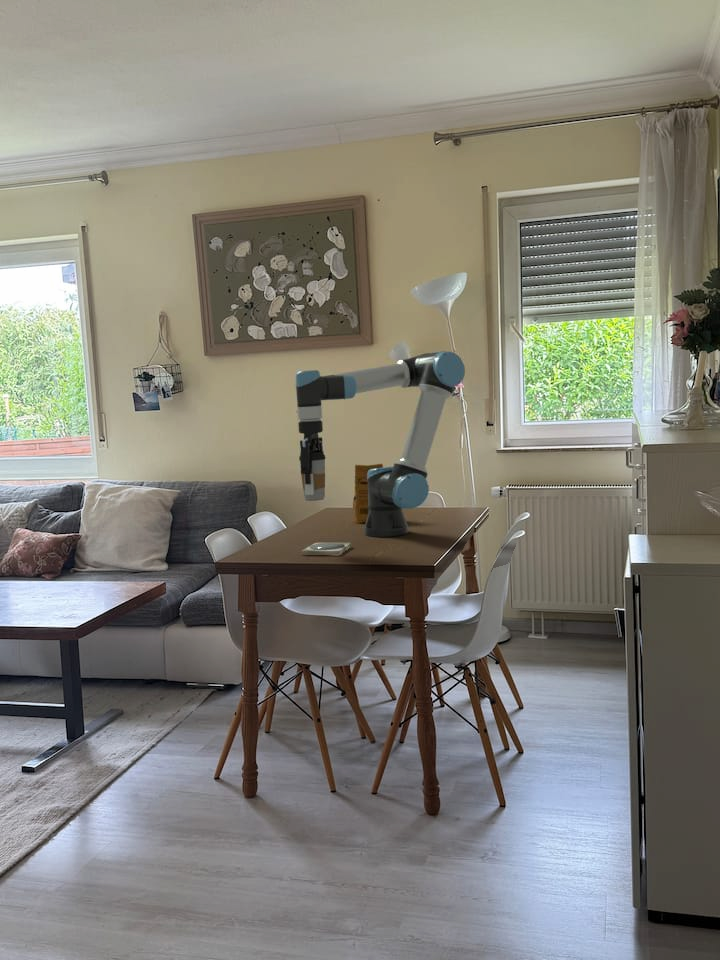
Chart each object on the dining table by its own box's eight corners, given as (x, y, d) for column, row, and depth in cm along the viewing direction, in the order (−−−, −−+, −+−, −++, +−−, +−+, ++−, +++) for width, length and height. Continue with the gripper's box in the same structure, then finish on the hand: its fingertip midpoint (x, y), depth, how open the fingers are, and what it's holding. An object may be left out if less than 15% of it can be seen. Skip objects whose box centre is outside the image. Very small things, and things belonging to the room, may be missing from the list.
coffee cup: (296, 501, 269) (293, 453, 267) (308, 497, 276) (306, 451, 275) (320, 501, 265) (317, 453, 264) (332, 497, 273) (329, 450, 271)
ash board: (316, 547, 279) (316, 541, 279) (351, 547, 275) (351, 542, 275) (301, 555, 265) (301, 550, 265) (338, 555, 262) (338, 550, 262)
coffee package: (354, 520, 333) (351, 463, 330) (386, 518, 332) (383, 462, 330) (352, 524, 323) (350, 465, 320) (385, 523, 322) (383, 464, 320)
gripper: (310, 418, 279) (314, 488, 281) (286, 422, 260) (291, 497, 262) (332, 418, 277) (336, 488, 279) (309, 421, 257) (314, 497, 260)
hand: (314, 492), depth 271 cm, fingers closed on coffee cup, 7 cm apart
